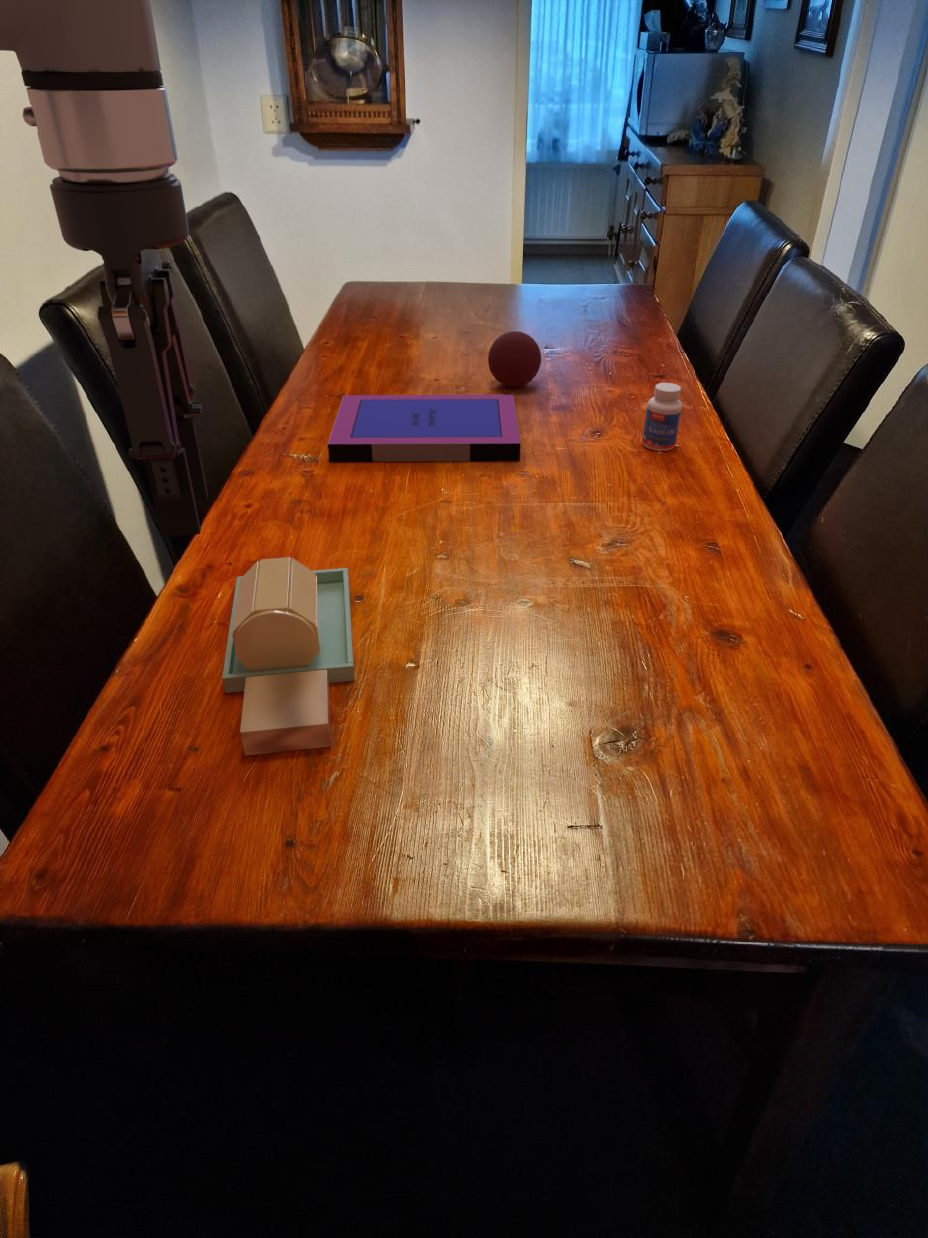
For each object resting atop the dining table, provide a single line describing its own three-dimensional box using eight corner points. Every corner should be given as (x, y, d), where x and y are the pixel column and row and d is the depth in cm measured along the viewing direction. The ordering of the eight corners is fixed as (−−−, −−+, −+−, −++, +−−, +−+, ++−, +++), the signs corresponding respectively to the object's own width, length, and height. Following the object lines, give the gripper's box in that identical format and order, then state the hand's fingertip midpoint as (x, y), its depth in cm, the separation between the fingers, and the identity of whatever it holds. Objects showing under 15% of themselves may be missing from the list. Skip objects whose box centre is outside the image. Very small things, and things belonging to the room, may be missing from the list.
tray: (355, 680, 85) (353, 665, 84) (225, 693, 83) (221, 678, 82) (349, 581, 100) (347, 567, 99) (239, 590, 99) (236, 576, 98)
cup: (314, 608, 80) (314, 554, 88) (226, 616, 79) (235, 560, 87) (323, 674, 85) (322, 617, 93) (240, 682, 84) (247, 624, 92)
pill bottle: (642, 451, 131) (650, 392, 126) (640, 437, 136) (648, 380, 130) (677, 452, 131) (687, 393, 125) (674, 439, 135) (683, 381, 129)
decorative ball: (540, 377, 160) (543, 324, 154) (539, 395, 152) (542, 341, 146) (489, 375, 160) (490, 323, 155) (485, 393, 152) (486, 339, 146)
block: (244, 756, 76) (239, 732, 74) (250, 699, 83) (245, 677, 81) (331, 747, 77) (327, 723, 75) (330, 692, 84) (327, 669, 82)
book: (520, 443, 127) (327, 444, 127) (519, 461, 128) (329, 461, 128) (513, 394, 144) (343, 395, 144) (513, 410, 145) (344, 411, 145)
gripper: (81, 155, 56) (153, 468, 69) (3, 195, 41) (112, 581, 55) (194, 154, 57) (243, 463, 70) (156, 194, 42) (227, 573, 56)
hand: (186, 514), depth 63 cm, fingers open, 5 cm apart
